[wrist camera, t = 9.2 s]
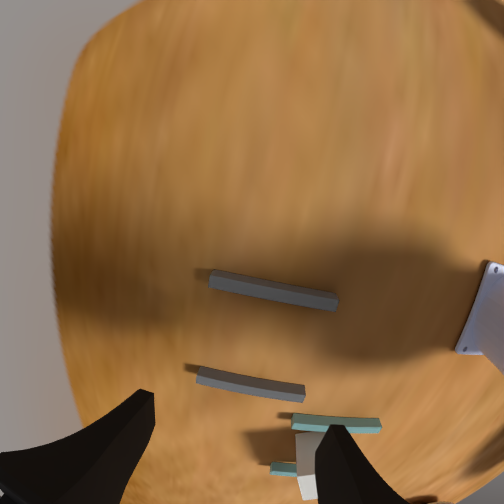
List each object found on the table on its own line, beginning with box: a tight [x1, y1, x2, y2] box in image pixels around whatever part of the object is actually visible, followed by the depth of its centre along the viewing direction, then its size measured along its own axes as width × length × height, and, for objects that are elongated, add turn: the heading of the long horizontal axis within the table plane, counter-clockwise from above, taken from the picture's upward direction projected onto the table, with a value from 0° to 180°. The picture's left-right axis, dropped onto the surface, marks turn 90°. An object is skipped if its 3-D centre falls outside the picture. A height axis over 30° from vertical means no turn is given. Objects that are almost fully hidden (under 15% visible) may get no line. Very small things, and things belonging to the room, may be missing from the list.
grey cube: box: [295, 431, 326, 500], centre depth 19 cm, size 4×5×5 cm
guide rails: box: [196, 269, 382, 477], centre depth 20 cm, size 16×20×1 cm
